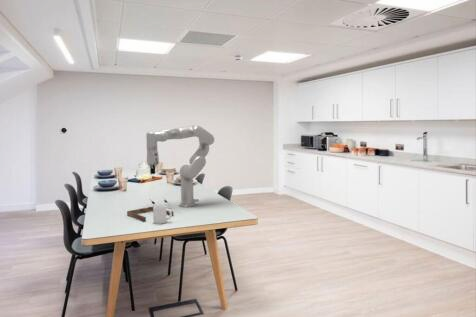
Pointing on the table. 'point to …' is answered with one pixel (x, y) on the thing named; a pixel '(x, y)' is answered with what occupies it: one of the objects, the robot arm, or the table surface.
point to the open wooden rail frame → (135, 212)
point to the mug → (160, 214)
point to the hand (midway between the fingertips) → (152, 173)
